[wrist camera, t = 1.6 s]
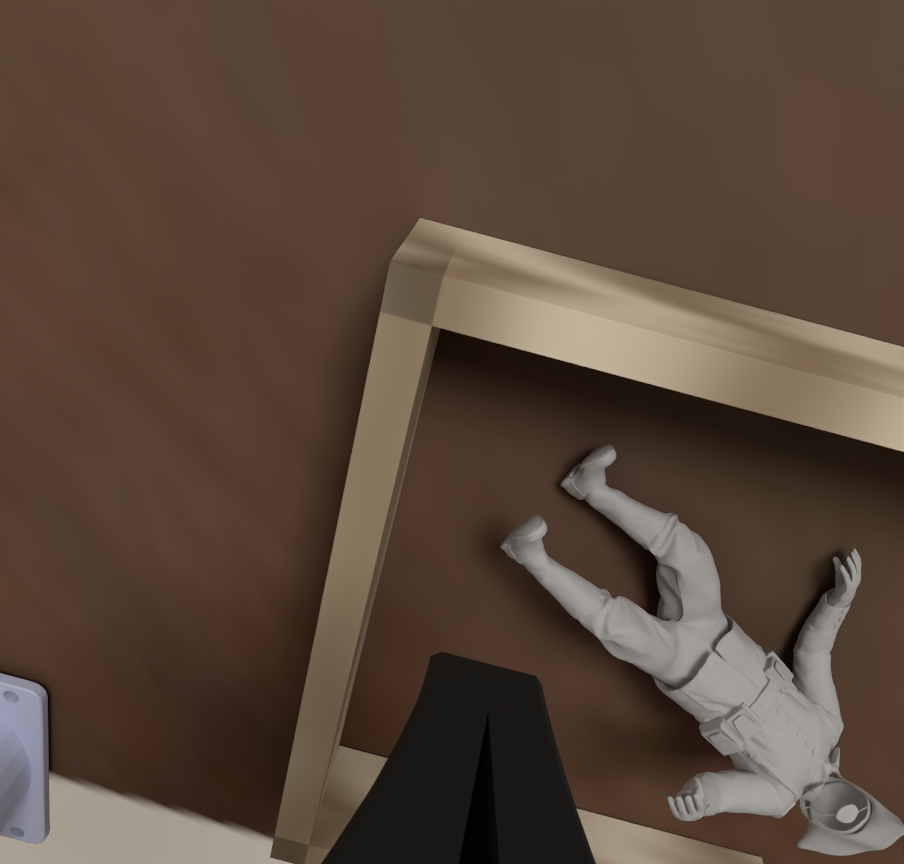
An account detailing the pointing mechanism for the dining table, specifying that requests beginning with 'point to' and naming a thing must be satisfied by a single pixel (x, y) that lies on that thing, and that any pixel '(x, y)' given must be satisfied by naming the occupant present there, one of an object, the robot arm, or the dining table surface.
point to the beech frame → (575, 341)
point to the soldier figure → (724, 673)
